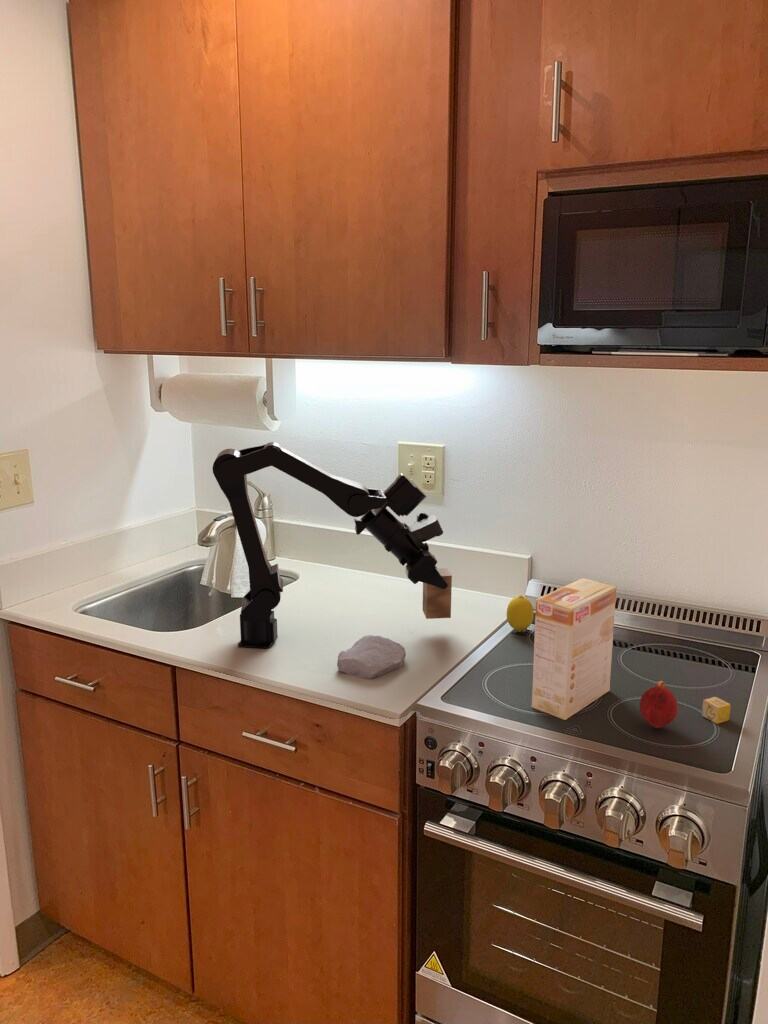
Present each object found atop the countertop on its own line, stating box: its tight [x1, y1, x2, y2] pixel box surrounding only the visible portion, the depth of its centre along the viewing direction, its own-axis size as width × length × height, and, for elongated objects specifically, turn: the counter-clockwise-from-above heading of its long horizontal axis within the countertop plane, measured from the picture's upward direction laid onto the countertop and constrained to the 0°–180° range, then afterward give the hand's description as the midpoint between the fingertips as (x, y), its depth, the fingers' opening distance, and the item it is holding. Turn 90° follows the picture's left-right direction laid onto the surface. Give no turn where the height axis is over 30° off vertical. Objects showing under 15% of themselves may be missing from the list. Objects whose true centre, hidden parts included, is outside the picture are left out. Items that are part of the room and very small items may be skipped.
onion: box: [639, 680, 679, 729], centre depth 129 cm, size 6×6×8 cm
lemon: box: [506, 594, 535, 633], centre depth 168 cm, size 6×6×8 cm
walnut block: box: [422, 567, 453, 620], centre depth 166 cm, size 5×5×9 cm
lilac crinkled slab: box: [336, 634, 407, 680], centre depth 153 cm, size 12×5×10 cm
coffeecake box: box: [531, 577, 617, 721], centre depth 138 cm, size 15×7×20 cm, turn 136°
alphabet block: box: [701, 696, 731, 725], centre depth 133 cm, size 3×3×3 cm
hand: (443, 583), depth 166 cm, fingers closed on walnut block, 5 cm apart
